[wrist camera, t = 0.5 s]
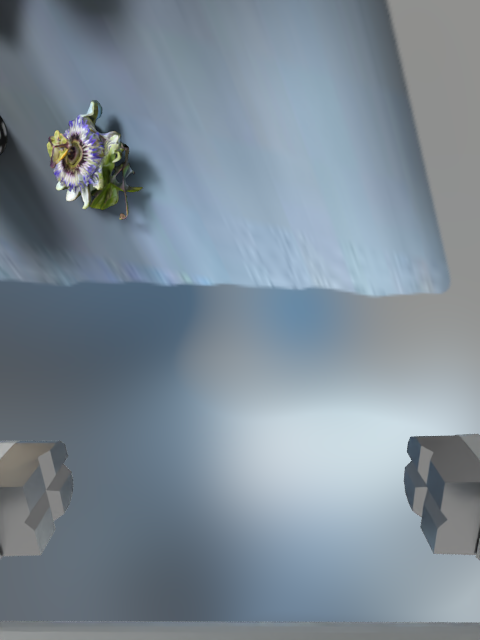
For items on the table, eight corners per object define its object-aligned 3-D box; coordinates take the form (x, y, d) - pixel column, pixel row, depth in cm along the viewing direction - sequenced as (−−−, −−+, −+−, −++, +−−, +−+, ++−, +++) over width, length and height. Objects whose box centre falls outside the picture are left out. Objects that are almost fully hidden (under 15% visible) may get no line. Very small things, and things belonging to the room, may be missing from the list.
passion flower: (92, 126, 55) (69, 76, 43) (162, 169, 57) (159, 132, 45) (50, 196, 55) (15, 164, 43) (122, 238, 56) (108, 218, 44)
